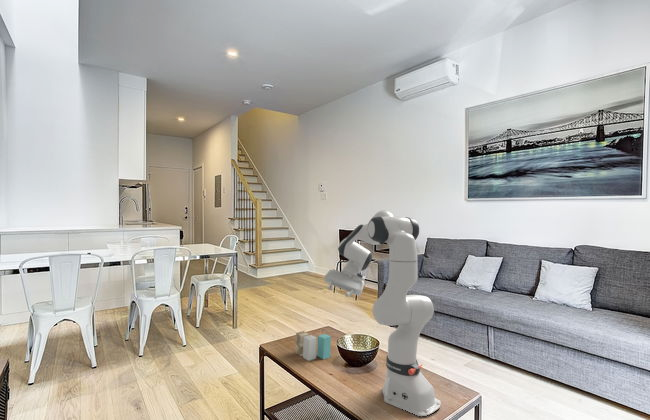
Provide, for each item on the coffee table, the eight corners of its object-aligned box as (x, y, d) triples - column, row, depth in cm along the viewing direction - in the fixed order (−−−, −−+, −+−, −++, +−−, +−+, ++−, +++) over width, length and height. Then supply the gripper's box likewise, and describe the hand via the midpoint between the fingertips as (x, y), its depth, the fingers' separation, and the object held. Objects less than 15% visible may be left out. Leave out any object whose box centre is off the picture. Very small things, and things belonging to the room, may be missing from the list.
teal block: (330, 356, 163) (330, 336, 163) (323, 359, 160) (323, 338, 160) (324, 353, 166) (324, 333, 166) (317, 356, 163) (317, 335, 163)
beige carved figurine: (308, 353, 165) (309, 333, 165) (301, 356, 162) (301, 335, 162) (302, 350, 169) (303, 331, 169) (295, 353, 166) (296, 333, 166)
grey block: (316, 358, 161) (316, 337, 161) (308, 361, 158) (309, 339, 158) (310, 355, 164) (310, 334, 164) (302, 357, 161) (303, 336, 161)
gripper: (331, 264, 177) (319, 279, 166) (367, 278, 170) (358, 295, 159) (330, 272, 180) (318, 289, 169) (365, 287, 174) (356, 304, 163)
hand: (338, 292), depth 164 cm, fingers open, 8 cm apart
